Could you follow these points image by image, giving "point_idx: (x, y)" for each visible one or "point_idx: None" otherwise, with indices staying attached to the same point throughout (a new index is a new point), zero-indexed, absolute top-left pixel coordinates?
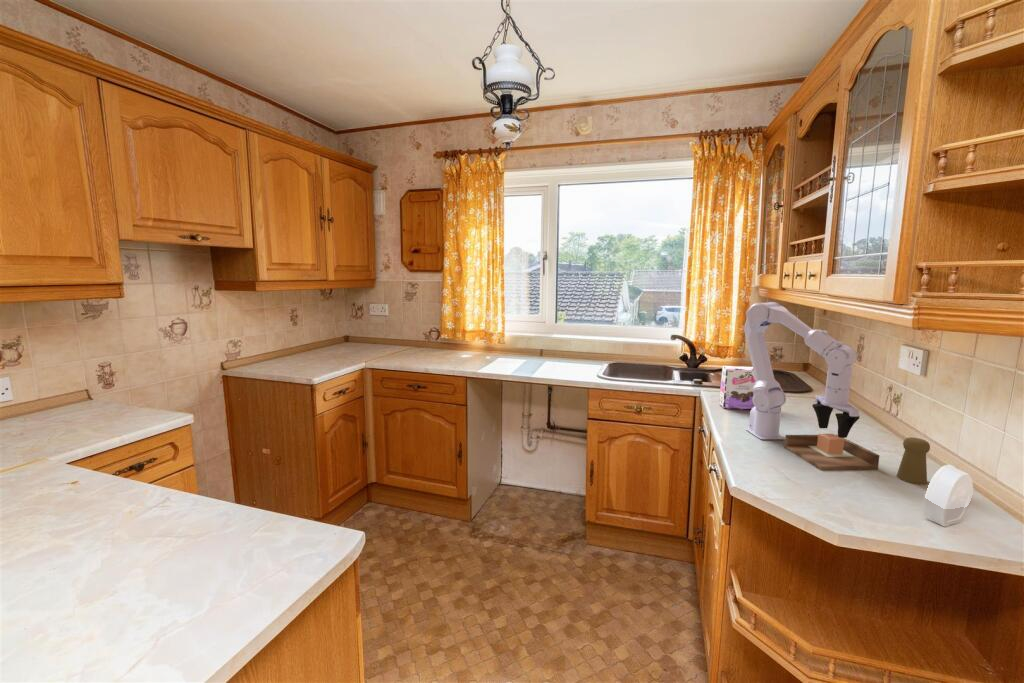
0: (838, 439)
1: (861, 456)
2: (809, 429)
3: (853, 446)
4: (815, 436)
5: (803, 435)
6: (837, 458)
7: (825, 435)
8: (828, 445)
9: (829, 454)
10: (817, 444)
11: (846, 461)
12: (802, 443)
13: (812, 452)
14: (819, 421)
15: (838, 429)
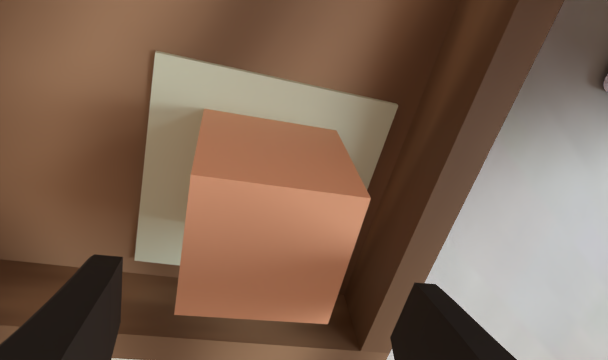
0: (180, 264)
1: None
2: (591, 353)
3: (171, 325)
4: (420, 211)
5: (485, 121)
6: (117, 117)
7: (308, 230)
8: (199, 141)
9: (194, 116)
10: (340, 145)
11: (48, 135)
12: (439, 76)
13: (279, 17)
14: (463, 336)
15: (64, 321)
